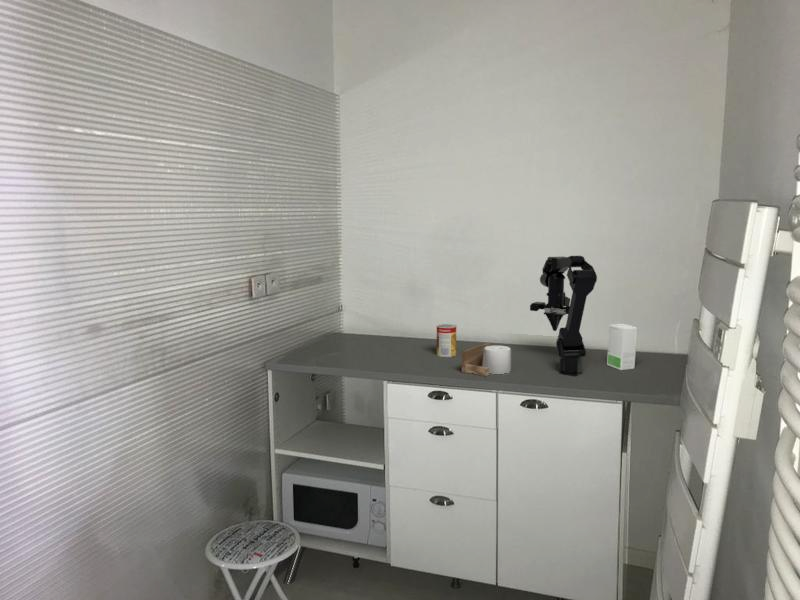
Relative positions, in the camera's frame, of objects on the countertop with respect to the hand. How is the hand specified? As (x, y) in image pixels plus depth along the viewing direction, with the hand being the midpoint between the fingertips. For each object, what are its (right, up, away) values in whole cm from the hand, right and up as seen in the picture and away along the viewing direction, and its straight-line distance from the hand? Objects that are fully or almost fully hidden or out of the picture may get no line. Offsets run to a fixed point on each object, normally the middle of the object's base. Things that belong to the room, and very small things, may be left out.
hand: (554, 330), depth 246 cm
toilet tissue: (-25, -15, -12) cm, 31 cm away
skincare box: (+23, -13, -7) cm, 27 cm away
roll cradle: (-27, -14, -9) cm, 32 cm away
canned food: (-40, -11, +16) cm, 44 cm away
